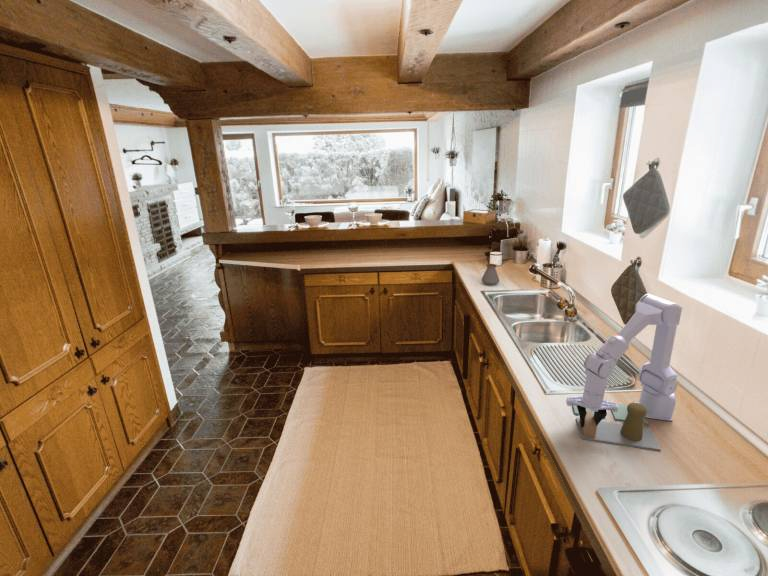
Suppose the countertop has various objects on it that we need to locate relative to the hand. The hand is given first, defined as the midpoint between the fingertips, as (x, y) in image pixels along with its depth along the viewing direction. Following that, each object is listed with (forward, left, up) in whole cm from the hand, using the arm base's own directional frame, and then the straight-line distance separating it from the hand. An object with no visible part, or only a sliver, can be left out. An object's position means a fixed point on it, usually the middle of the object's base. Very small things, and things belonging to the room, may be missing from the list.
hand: (587, 425), depth 130 cm
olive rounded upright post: (-13, 0, -1) cm, 13 cm away
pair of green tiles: (-8, -12, -2) cm, 15 cm away
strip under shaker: (-8, 0, -2) cm, 9 cm away
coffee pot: (+35, -144, -2) cm, 148 cm away
